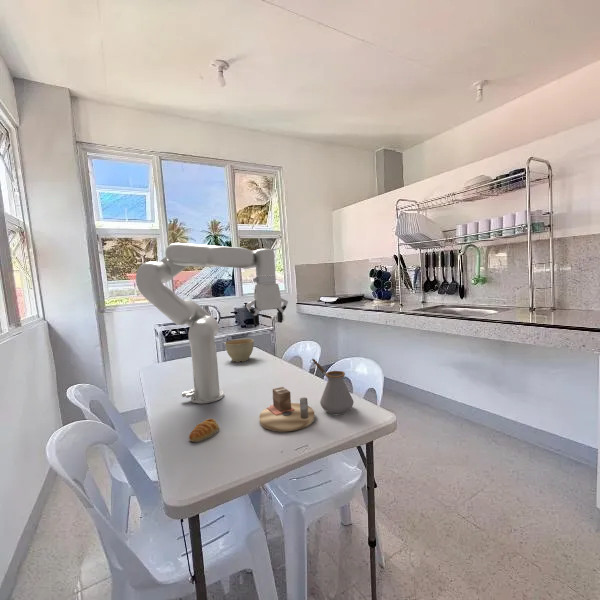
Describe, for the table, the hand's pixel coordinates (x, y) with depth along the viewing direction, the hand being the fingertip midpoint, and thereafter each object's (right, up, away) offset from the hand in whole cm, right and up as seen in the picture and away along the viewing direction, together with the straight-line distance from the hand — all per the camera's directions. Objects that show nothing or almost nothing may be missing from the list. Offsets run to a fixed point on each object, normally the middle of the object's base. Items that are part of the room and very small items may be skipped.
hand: (268, 323), depth 129 cm
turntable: (+8, -30, -22) cm, 38 cm away
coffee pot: (+23, -29, -13) cm, 39 cm away
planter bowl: (-21, -25, +57) cm, 66 cm away
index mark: (+3, -29, -12) cm, 32 cm away
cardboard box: (+6, -27, -18) cm, 33 cm away
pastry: (-17, -32, -30) cm, 47 cm away
